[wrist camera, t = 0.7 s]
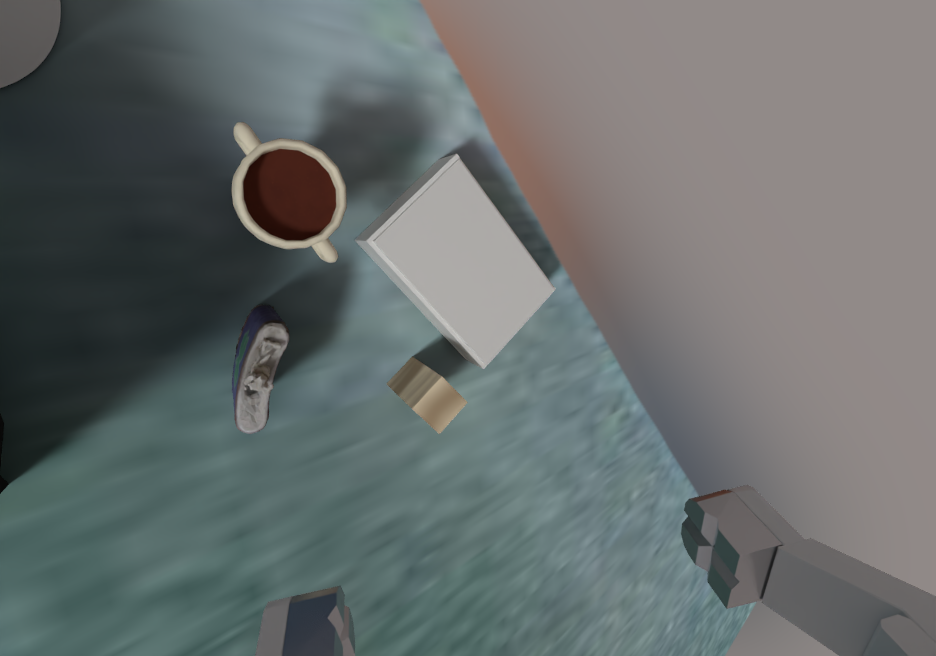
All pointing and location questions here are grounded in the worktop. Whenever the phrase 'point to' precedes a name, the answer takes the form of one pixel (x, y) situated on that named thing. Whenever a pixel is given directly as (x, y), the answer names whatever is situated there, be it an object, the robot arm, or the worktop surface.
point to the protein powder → (0, 482)
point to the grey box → (458, 260)
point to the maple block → (427, 394)
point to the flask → (257, 366)
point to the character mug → (288, 193)
